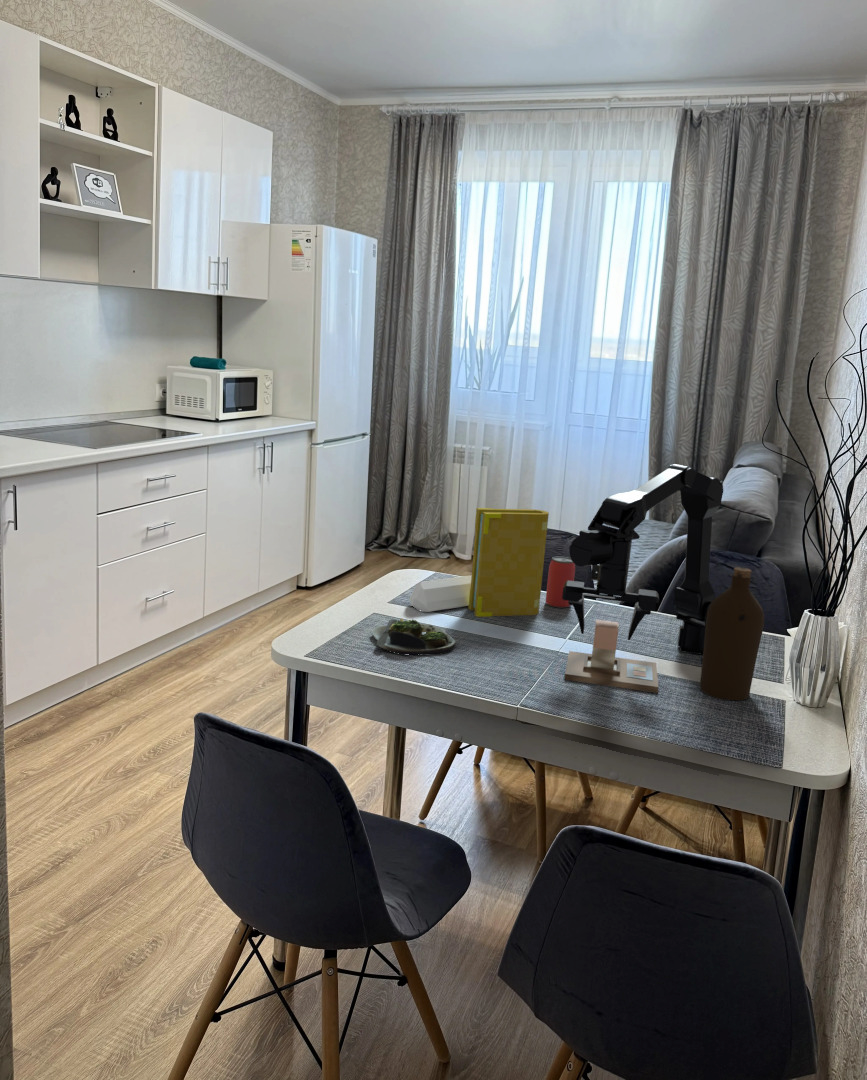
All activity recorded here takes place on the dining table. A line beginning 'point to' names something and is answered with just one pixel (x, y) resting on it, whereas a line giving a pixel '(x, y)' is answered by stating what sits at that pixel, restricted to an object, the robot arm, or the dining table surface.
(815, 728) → the dining table surface
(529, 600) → the book
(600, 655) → the birch block
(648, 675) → the board
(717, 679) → the olive oil
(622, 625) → the dining table surface
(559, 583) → the beer can
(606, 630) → the terracotta block
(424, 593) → the crystal
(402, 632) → the salad plate
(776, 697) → the dining table surface
